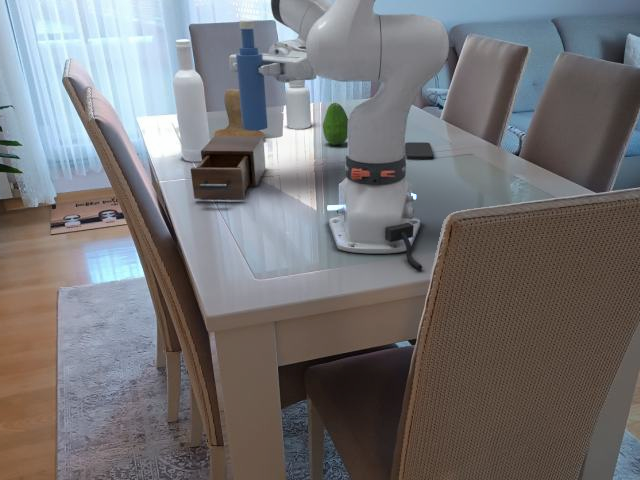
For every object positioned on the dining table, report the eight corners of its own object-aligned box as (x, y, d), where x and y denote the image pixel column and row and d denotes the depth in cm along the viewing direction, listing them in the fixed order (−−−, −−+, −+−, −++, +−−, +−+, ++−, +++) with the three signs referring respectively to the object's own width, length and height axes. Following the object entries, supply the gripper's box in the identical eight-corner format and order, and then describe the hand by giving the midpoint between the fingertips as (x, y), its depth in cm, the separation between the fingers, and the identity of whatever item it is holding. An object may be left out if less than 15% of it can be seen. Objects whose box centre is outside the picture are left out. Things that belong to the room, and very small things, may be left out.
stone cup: (265, 135, 202) (261, 84, 194) (265, 144, 192) (261, 91, 184) (216, 136, 201) (211, 85, 193) (214, 145, 190) (208, 92, 183)
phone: (407, 156, 176) (404, 142, 189) (406, 159, 176) (404, 145, 189) (434, 156, 176) (429, 142, 189) (433, 159, 176) (429, 145, 189)
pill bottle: (283, 125, 213) (280, 77, 206) (305, 123, 216) (304, 75, 209) (291, 130, 207) (289, 80, 200) (314, 127, 210) (313, 79, 202)
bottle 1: (177, 159, 177) (160, 40, 162) (195, 153, 183) (180, 37, 168) (200, 163, 174) (184, 42, 158) (217, 156, 180) (204, 39, 164)
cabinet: (255, 186, 156) (253, 151, 151) (204, 186, 156) (200, 150, 152) (265, 169, 169) (263, 136, 164) (218, 169, 169) (214, 135, 165)
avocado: (320, 147, 188) (319, 104, 182) (327, 141, 195) (326, 99, 189) (346, 149, 187) (346, 105, 180) (352, 142, 193) (352, 100, 187)
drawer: (240, 205, 141) (237, 174, 138) (189, 204, 142) (185, 174, 138) (254, 180, 157) (252, 152, 153) (208, 180, 157) (205, 152, 154)
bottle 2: (265, 130, 144) (257, 21, 133) (240, 130, 144) (230, 21, 133) (269, 124, 149) (261, 19, 137) (245, 124, 149) (235, 19, 138)
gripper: (250, 44, 153) (210, 50, 143) (321, 49, 143) (283, 56, 133) (253, 72, 156) (214, 81, 146) (322, 79, 146) (285, 88, 136)
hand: (247, 69), depth 139 cm, fingers closed on bottle 2, 6 cm apart
